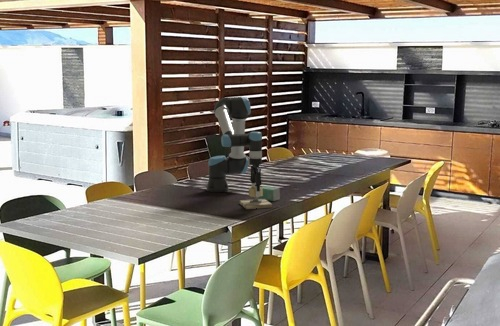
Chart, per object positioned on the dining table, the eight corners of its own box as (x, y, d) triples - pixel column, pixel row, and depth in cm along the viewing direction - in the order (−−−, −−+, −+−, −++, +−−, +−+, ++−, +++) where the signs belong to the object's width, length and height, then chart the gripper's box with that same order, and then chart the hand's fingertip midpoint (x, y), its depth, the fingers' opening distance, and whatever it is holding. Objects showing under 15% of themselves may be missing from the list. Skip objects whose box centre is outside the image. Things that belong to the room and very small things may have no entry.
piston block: (239, 203, 368) (239, 189, 366) (264, 202, 372) (264, 187, 371) (246, 209, 352) (246, 194, 351) (272, 207, 357) (272, 192, 355)
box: (263, 196, 388) (263, 185, 387) (280, 199, 380) (280, 187, 379) (256, 198, 382) (256, 187, 381) (273, 201, 374) (273, 189, 373)
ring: (247, 194, 364) (247, 187, 363) (260, 193, 366) (260, 186, 365) (251, 197, 356) (251, 189, 356) (264, 196, 358) (264, 189, 358)
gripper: (245, 155, 367) (245, 192, 370) (254, 160, 347) (254, 198, 350) (256, 155, 369) (257, 191, 372) (266, 159, 349) (266, 198, 352)
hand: (255, 195), depth 361 cm, fingers closed on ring, 8 cm apart
